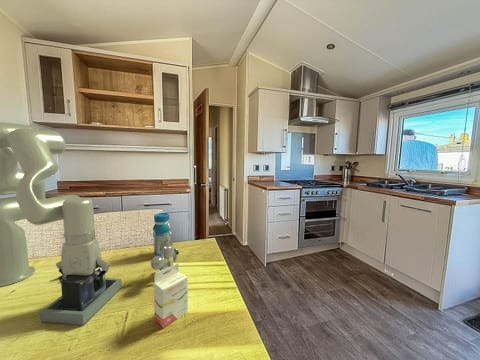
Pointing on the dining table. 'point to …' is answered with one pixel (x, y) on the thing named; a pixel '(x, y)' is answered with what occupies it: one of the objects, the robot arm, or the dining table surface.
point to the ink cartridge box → (170, 295)
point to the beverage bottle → (161, 231)
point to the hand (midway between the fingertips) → (85, 288)
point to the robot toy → (164, 256)
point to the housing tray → (60, 316)
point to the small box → (79, 291)
